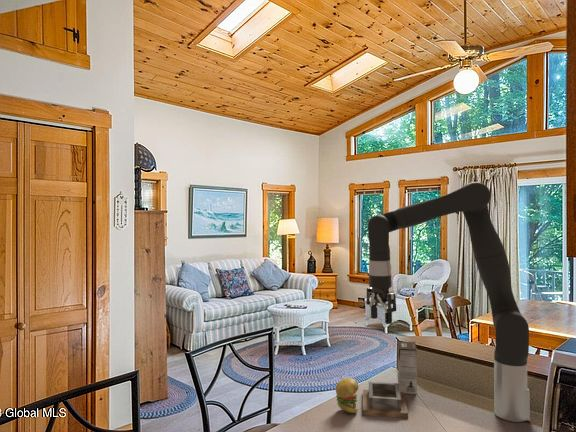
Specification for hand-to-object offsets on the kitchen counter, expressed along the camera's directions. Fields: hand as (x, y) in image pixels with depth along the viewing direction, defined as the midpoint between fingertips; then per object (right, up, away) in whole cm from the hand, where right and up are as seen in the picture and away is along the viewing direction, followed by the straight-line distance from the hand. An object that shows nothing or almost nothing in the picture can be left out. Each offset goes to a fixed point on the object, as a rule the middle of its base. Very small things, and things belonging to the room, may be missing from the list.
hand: (381, 320), depth 146 cm
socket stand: (0, -27, -3) cm, 28 cm away
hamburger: (-13, -28, -8) cm, 32 cm away
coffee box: (+12, -28, +10) cm, 32 cm away
